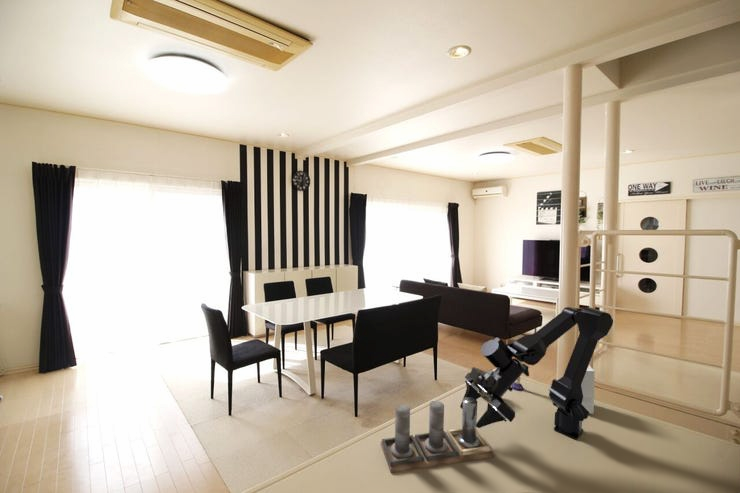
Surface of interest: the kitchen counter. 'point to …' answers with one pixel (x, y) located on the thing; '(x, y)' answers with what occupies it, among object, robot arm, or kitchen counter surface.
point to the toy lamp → (517, 383)
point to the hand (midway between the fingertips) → (468, 417)
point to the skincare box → (588, 390)
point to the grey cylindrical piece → (469, 424)
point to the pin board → (428, 443)
